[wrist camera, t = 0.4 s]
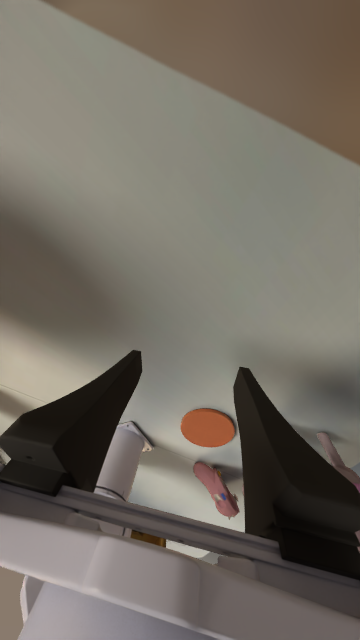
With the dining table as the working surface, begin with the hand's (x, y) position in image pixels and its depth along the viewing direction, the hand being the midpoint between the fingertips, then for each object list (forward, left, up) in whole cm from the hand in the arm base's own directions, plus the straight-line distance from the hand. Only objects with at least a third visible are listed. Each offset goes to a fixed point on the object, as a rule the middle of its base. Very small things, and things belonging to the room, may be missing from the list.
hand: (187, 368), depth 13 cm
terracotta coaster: (-7, -19, -10) cm, 23 cm away
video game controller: (-11, -32, -10) cm, 36 cm away
